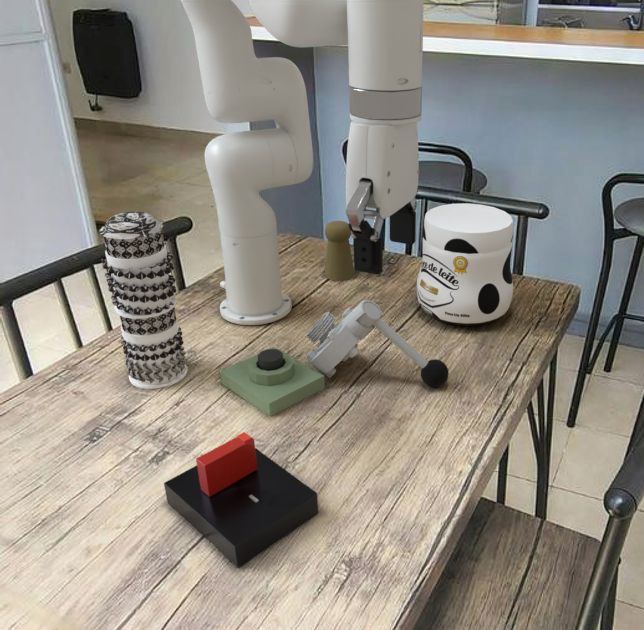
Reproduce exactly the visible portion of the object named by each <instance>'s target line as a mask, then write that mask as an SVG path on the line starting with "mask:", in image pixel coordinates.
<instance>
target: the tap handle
mask: <svg viewBox="0 0 644 630" xmlns="http://www.w3.org/2000/svg"><path fill="white" fill-rule="evenodd" d="M255 448H256V445H255V439H254V437H252V436H251V435H249V434H247V433H246V432H245V431H243V432H241V433H240V434H238V435H236V437H234V438H232V439H230V440H228V441H227V442H225V443H223V444H221V445H219V446H217V447H215V448H214V449H211V450H210V451H207V452H206V453H203V454H201V455H200V456H198V457H197V458H195V461H196V466H197V468H198V474H199V481H200V487H201V490H202V491H203V492H204V493H205V494H207V495H208V496H209V497H211V496H212V495H214V494H216V493H217V492H219V491H221V490H223V489H224V488H226V487H228V486H230V485H231V484H233V483H235V482H236V481H238V480H240V479H242V478H243V477H245V476H247V475H248V474H250V473H252V472H254V471H255V470H257V461H256V452H255Z"/></svg>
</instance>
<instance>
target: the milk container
mask: <svg viewBox="0 0 644 630" xmlns="http://www.w3.org/2000/svg"><path fill="white" fill-rule="evenodd" d="M422 228H423V229H422V232H423V233H422V235H423V236H422V257H421V258H422V260H421V265H420V267H419V271H418V275H417V278H416V286H415V287H416V290H415V291H416V297H417V302H418V304H419V306H420V308H421V309H422V311H423V312H424V313H425V314H427V315H428V316H430V317H432V319H435V320H436V321H439V322H442V323H445V324H448V325H456V326H462V327H463V326H464V327H467V326H480V325H481V326H482V325H484V324H490V323H493V322H495V321H496V320H498V319H500V318H502V317H503V316H504V315H505V314H506V313H507V311H508V310H509V308H510V306H511V302H512V300H513V295H514V282H513V276H512V269H511V260H512V253H513V239H514V222H513V217H512V215H510V214H509V213H508V212H506V211H505V210H502V209H500V208H497V207H495V206H490V205H485V204H477V203H468V202H465V203H464V202H463V203H448V204H443V205H438V206H436V207H433V208H431V209H429V210H428V211H427V212H426V213H425V215H424V220H423V227H422Z"/></svg>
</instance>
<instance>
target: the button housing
mask: <svg viewBox="0 0 644 630" xmlns="http://www.w3.org/2000/svg"><path fill="white" fill-rule="evenodd" d="M270 349H277V350H280V351H281V352H282V353H283V362H284V365H283V367H281V368H279V369H277V370H272V371H266V370H261V369H260V368H259V365H258V354H259V353H257V354H255V355H253V356H250V357H248V358H246V359H244V360H241V361H239V362H237V363H234V364H232V365H230V366H228V367H225V368H224V369H221V370H219V377H220V384H221V385H223V386H224V387H226V388H227V389H228V390H230V391H232V393H233V392H234V393H235V394H236V395H238V396H239V397H240V398H242V399H243V400H245V401H247V402H248V403H250V404H251V405H253V406H254V407H255V408H257V409H258V410H260V411H261V412H263V413H264V414H266V415H267V416H269V417H272V416H274V415H276V414H278V413H280V412H282V411H284V410H285V409H288V408H289V407H291V406H293V405H296V404H297V403H299V402H301V401H303V400H305V399H306V398H309V397H310V396H312V395H314V394H316V393H319V391H322V390H323V389H325V388H326V380H325V374H324V375H323V374H322V373H321V372H320V371H318V370H317V369H314V368H312V367H310V366H309V365H307V364H305V363H304V362H302V361H301V360H298V359H296V358H295V357H294V356H291V355H290V354H288V353H286V352H284V351H282V350H281V349H279V348H277V347H275V346H273V347H271V348H270Z"/></svg>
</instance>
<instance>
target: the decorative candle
mask: <svg viewBox="0 0 644 630" xmlns="http://www.w3.org/2000/svg"><path fill="white" fill-rule="evenodd" d="M163 227H164V224H163V222H162V221H159V220H157V219H155V217H154V216H153V215H151V214H150V213H147V212H144V211H126V212H121V213H120V212H119V213H116V214H114V215H112V216H111V217H109V218H108V219H107V221H106V222H105V224H104V225H103V226H101V228H100V229H99V230H98V232H99V234H100V236H102V237H103V241H104V242H103V243H104V245H105V251H104V253H105V256H103V258H101V263H102V264H101V266H102V269H104V270H106V272H105V273H104V277H105V278H106V282H107V286H108V288H107V289H108V292H110V293H111V296H110V299H111V300H112V301H111V303H112V305H113V306H114V307H113V309H114V311H115V313H116V315H118V316H119V319H120V323H121V324H120V332H121V337H120V343H121V345H122V349H123V351H122V353H123V354H124V355H125V356H124V364H125V365H126V373H127V375H128V379H129V383H130V384H131V385H133V386H135V387H136V388H140V389H144V390H145V389H146V390H154V389H155V390H156V389H162V388H166V387H170V386H172V385H174V384H176V383H178V382H180V381H182V379H184V378H185V376H187V373H188V370H189V367H188V366H187V363H188V361H187V360H186V351H185V346H183V345H184V340H183V337H182V336H183V331H182V327H180V325H179V319H178V316H177V314H176V308H175V307H176V306H177V303H178V300H177V298H176V295H175V294H176V293H177V287H176V286H175V285H174V284H175V283H176V278H175V277H174V275H172V274H171V273H172V272H173V271H174V269H175V265H174V264H173V263H172V262H171V261H172V260H174V255H173V254H172V253H171V252H170V251H168V248H167V245H166V244H165V238H164V232H163Z"/></svg>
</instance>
